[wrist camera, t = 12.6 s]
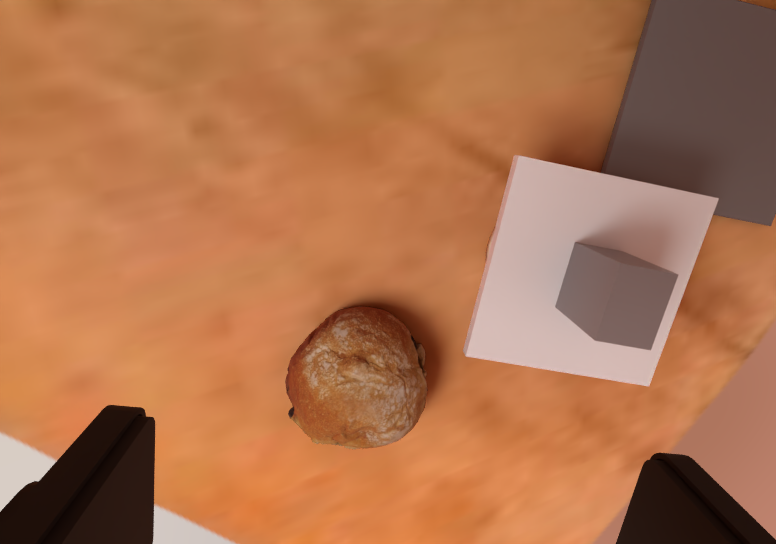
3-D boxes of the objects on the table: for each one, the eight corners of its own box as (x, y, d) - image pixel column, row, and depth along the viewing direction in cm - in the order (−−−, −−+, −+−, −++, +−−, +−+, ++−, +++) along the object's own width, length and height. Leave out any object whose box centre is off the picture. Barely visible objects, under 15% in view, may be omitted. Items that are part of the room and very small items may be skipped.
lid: (514, 154, 27) (555, 158, 21) (709, 196, 28) (795, 210, 23) (463, 350, 30) (487, 398, 24) (641, 380, 31) (703, 432, 26)
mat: (656, -16, 30) (662, -19, 30) (839, 30, 32) (848, 28, 31) (595, 191, 33) (599, 192, 33) (763, 224, 35) (770, 225, 34)
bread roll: (421, 376, 40) (478, 401, 33) (325, 464, 37) (364, 512, 30) (358, 280, 38) (404, 284, 31) (248, 364, 34) (270, 391, 27)
